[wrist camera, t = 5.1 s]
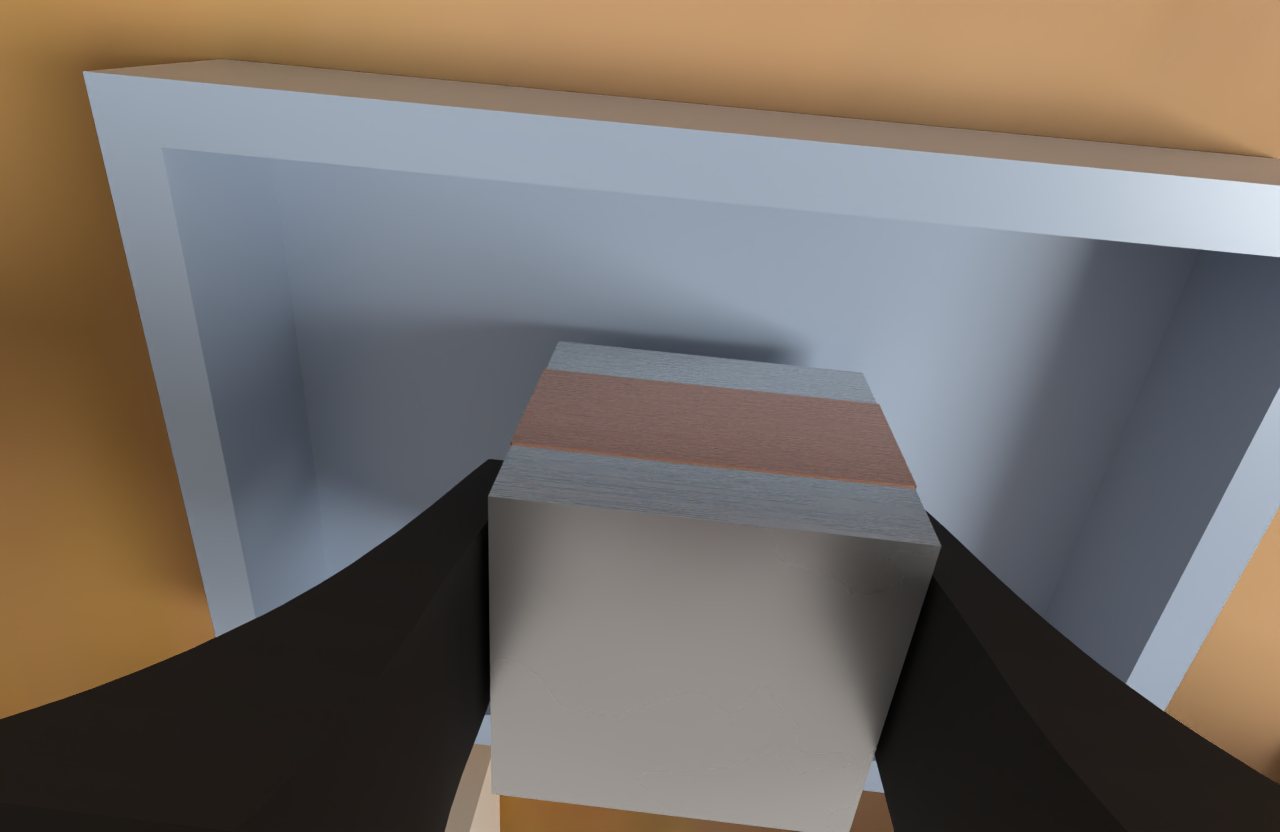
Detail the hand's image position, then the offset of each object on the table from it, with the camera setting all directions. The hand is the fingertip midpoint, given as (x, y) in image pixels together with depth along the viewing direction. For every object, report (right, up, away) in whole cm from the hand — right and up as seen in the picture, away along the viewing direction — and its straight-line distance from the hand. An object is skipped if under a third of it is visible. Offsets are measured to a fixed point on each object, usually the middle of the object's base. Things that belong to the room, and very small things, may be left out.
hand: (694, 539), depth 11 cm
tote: (0, +2, +3) cm, 3 cm away
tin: (0, +1, +2) cm, 2 cm away
